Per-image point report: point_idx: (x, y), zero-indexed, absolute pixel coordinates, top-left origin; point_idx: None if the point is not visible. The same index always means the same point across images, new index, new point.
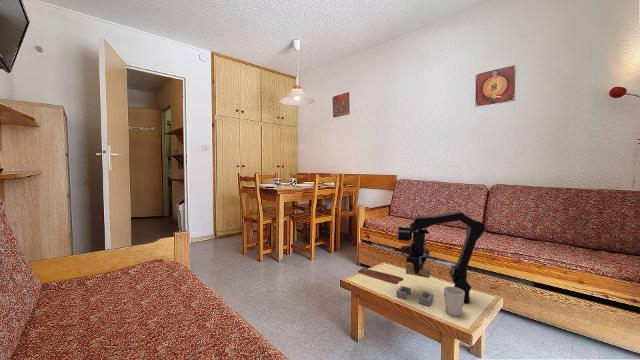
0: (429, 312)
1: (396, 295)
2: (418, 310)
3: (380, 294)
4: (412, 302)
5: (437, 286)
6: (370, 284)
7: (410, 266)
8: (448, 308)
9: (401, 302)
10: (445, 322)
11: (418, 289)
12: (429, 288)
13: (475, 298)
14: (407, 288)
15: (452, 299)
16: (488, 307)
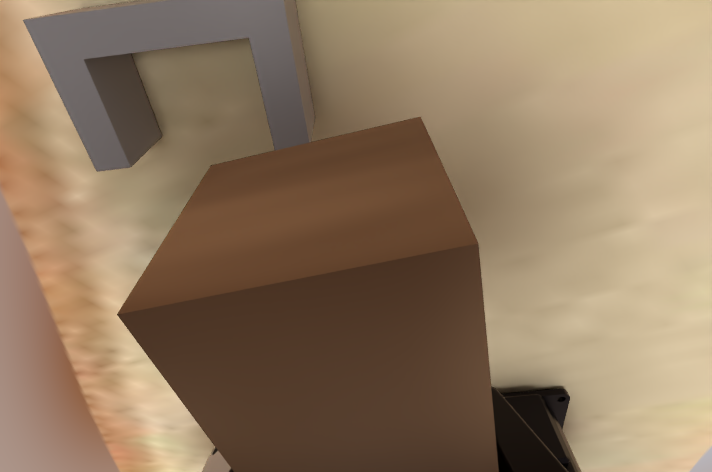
0: (129, 353)
1: (66, 11)
2: (71, 296)
3: None
4: (148, 210)
5: (701, 252)
6: None
7: (323, 409)
8: (204, 466)
9: (30, 128)
10: (112, 434)
11: (509, 135)
12: (605, 213)
13: (575, 458)
14: (267, 110)
15: None
16: None
